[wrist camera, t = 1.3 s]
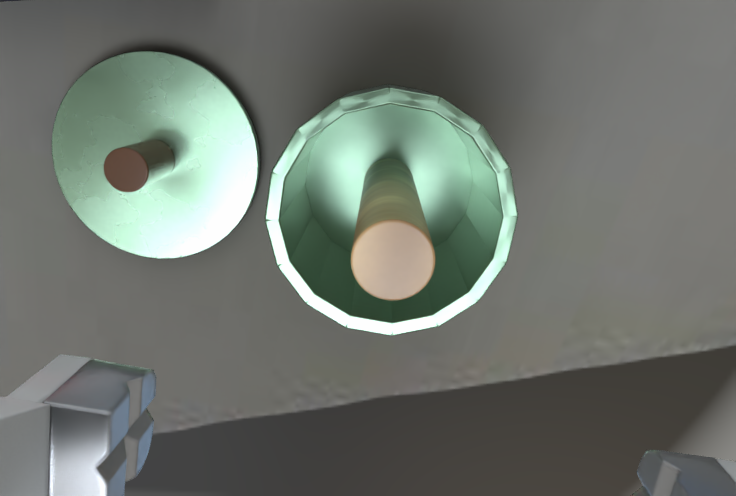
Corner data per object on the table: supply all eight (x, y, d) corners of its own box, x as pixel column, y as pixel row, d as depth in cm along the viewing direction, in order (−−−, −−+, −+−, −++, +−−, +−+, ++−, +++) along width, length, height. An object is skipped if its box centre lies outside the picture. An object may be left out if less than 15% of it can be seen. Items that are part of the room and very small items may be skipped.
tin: (284, 252, 41) (251, 311, 31) (311, 70, 38) (285, 67, 28) (459, 283, 41) (485, 352, 31) (500, 104, 38) (543, 115, 28)
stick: (360, 202, 39) (343, 293, 23) (368, 153, 38) (358, 212, 22) (408, 210, 39) (426, 308, 23) (417, 162, 38) (443, 228, 22)
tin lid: (56, 235, 41) (5, 260, 35) (66, 33, 37) (11, 26, 32) (248, 269, 41) (227, 299, 36) (275, 72, 38) (256, 71, 32)
